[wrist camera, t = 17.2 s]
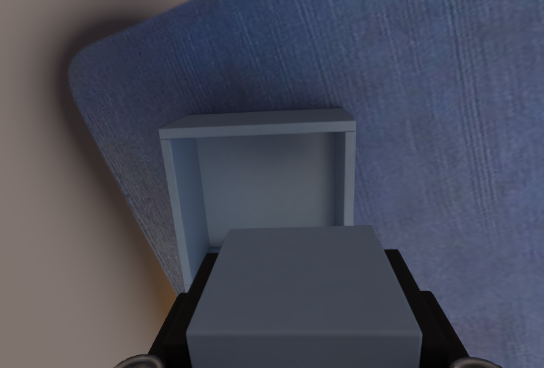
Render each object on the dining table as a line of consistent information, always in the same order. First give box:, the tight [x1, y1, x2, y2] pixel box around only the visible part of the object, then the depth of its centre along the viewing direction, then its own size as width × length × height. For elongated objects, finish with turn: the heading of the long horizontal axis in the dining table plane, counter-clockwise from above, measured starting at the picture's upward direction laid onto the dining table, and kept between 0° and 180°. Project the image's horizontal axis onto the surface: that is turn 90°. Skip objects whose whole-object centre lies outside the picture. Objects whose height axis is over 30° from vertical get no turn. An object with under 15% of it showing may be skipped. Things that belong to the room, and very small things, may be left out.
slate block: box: [186, 225, 422, 368], centre depth 9 cm, size 4×4×4 cm
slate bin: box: [158, 108, 356, 292], centre depth 24 cm, size 11×11×6 cm
